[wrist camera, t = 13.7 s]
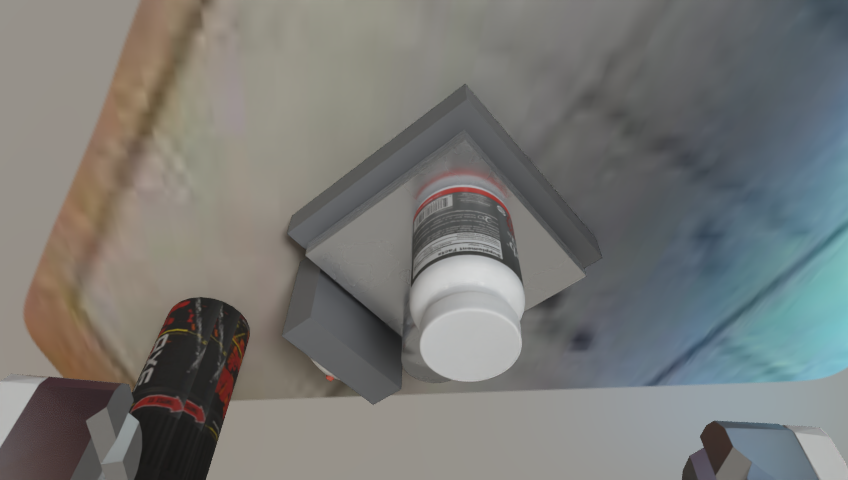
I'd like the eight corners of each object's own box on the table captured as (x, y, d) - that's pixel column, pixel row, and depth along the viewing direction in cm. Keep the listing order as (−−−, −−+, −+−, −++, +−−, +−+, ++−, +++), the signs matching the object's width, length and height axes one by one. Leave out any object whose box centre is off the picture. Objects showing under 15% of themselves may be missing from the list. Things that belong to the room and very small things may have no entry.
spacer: (439, 279, 40) (440, 324, 37) (479, 316, 42) (483, 362, 39) (390, 309, 42) (387, 356, 39) (430, 344, 44) (430, 391, 41)
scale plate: (464, 129, 36) (465, 140, 35) (582, 263, 41) (586, 276, 40) (308, 243, 40) (305, 255, 39) (433, 350, 46) (433, 363, 45)
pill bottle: (504, 264, 40) (523, 393, 32) (409, 259, 40) (404, 388, 32) (518, 182, 36) (542, 304, 28) (414, 177, 36) (409, 298, 28)
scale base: (465, 84, 37) (471, 143, 32) (595, 239, 44) (620, 311, 38) (259, 240, 44) (234, 313, 38) (398, 355, 50) (395, 432, 45)
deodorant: (182, 285, 46) (95, 475, 34) (262, 317, 48) (206, 508, 36) (156, 337, 49) (68, 528, 37) (232, 366, 51) (171, 557, 39)
